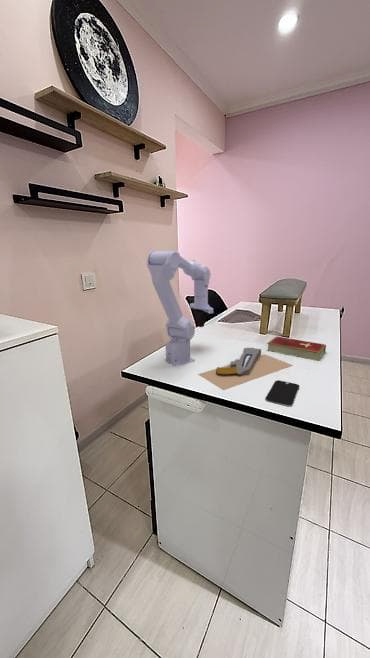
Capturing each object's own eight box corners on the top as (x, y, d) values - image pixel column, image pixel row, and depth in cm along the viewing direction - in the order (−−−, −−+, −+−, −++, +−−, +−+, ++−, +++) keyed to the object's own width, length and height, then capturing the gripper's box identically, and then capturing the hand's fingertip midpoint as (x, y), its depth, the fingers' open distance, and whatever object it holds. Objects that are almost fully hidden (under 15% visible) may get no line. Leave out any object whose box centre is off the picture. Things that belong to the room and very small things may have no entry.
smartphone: (300, 384, 89) (291, 406, 77) (300, 386, 90) (291, 408, 77) (275, 379, 93) (264, 399, 81) (275, 381, 93) (263, 401, 81)
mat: (223, 391, 87) (223, 389, 87) (198, 375, 99) (198, 374, 99) (292, 366, 105) (293, 365, 105) (264, 355, 116) (264, 354, 116)
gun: (225, 351, 120) (261, 354, 116) (214, 377, 97) (258, 382, 93) (225, 344, 119) (261, 347, 115) (214, 369, 96) (259, 373, 92)
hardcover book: (276, 344, 130) (276, 335, 129) (325, 353, 118) (326, 343, 116) (266, 351, 121) (267, 342, 120) (318, 362, 108) (319, 352, 107)
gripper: (219, 296, 113) (218, 328, 117) (198, 292, 125) (199, 321, 129) (205, 298, 110) (205, 331, 113) (185, 294, 121) (186, 324, 125)
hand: (201, 326), depth 121 cm, fingers closed
